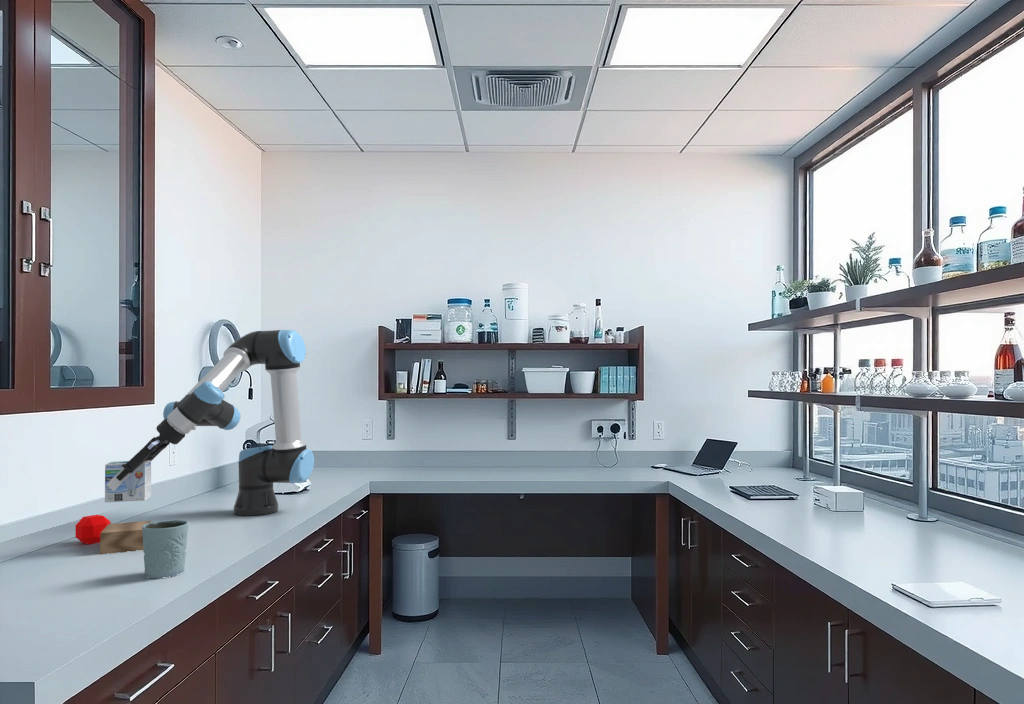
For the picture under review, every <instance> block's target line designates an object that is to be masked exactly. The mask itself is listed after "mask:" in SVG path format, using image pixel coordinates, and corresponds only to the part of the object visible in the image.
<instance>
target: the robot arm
mask: <svg viewBox="0 0 1024 704" xmlns="http://www.w3.org/2000/svg"><path fill="white" fill-rule="evenodd" d="M306 355H307V349H306V343H305V341H304V338H303V337H302V336H301V334H300V333H299V332H297V331H296V330H292V329H276V330H275V329H274V330H255V331H251V332H249V333H247V334H244V336H243V335H242V336H241V337H240V338H238V339H236V340H235V341H234V342H233V343H231V344H230V345H229V346H228V347H227V348H226V349H225V350H224V352H223V356H222V357H221V359H219V360H218V362H217V363H216V364H215V365H214V366H213V367H212V368H211V369H210V370H209V371H208V372H207V373H206V374H204V376H203V377H202V378H201V379H200V380H199V381H198V382H197V383H196V384H195V385H194V386H193V387H192V388H191V389H190V390H189V391H188V392H187V394H185V395H184V397H183V398H182V399H181V400H176V401H171V402H168V403H166V405H165V407H164V408H163V412H162V415H163V420H162V421H161V422H160V423H159V424H157V426H156V428H155V429H156V431H157V432H158V434H159V435H157V436H156V437H155V436H154V437H152V438H151V439H150V440H148V442H147V443H146V445H144V446H143V447H142V448H141V449H139V451H138V452H137V453H136V454H135V455H134V456H133V457H131V458H130V460H127V461H128V462H127V463H126V464H125V465H124V464H123V465H122V467H124V468H123V469H121V470H120V471H119V472H118V473H117V474H116V475H115V476H114V477H113V478H112V479H111V480H110V481H109V482H108V483H107V484H106V485H107V486H108V487H109V488H110V489H112V490H113V491H115V490H116V489H117V488H118V487H119V486H120V485H121V484H122V483H123V482H124V481H125V480H126V479H127V478H128V477H129V476H130V475H131V474H132V472H133V471H134V470H135V469H136V468H137V467H139V466H140V465H141V464H142V463H143V462H144V461H145V460H151V462H152V461H153V460H155V458H156V457H157V456H158V455H159V454H160V453H162V451H163V450H165V449H166V448H167V447H168V446H169V445H170V444H172V445H178V444H179V443H180V442H181V441H182V440H183V439H185V437H186V435H187V434H189V433H190V432H191V431H196V427H218V428H219V429H221V430H224V431H230V430H233V429H235V428H236V427H237V426H238V425H239V423H240V420H241V418H242V417H241V411H240V410H239V409H238V408H237V407H235V406H234V405H233V404H232V403H229V402H228V401H226V400H225V394H224V391H225V390H226V388H228V386H230V385H231V383H232V382H233V381H234V380H235V379H236V377H238V376H239V374H240V373H242V372H245V371H247V370H248V369H249V368H251V367H252V366H254V365H255V366H256V365H264V369H265V371H266V372H267V373H268V374H270V375H269V376H270V385H271V397H272V409H273V422H274V423H273V424H274V436H275V443H273V445H272V444H271V445H266V446H264V445H263V446H258V447H253V448H252V447H251V448H245V449H241V450H240V452H239V455H238V461H237V463H238V493H237V496H236V499H235V502H234V504H233V514H234V515H235V514H237V515H236V516H260V515H261V516H263V515H267V514H272V513H273V514H274V513H277V512H278V511H279V502H278V500H277V496H276V494H275V490H274V483H275V484H277V483H279V484H280V483H281V484H283V483H284V484H303V483H304V482H306V481H308V479H309V478H310V477H311V475H312V473H313V470H314V466H315V456H314V455H315V454H314V453H313V451H312V450H311V449H309V448H308V449H307V442H306V441H304V440H303V439H302V432H301V418H300V405H299V394H298V381H297V371H298V370H299V369H300V368H301V364H302V363H303V362H304V361H305V359H306ZM129 465H130V466H131V467H130V466H129Z"/></svg>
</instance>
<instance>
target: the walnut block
mask: <svg viewBox="0 0 1024 704" xmlns="http://www.w3.org/2000/svg"><path fill="white" fill-rule="evenodd" d="M151 522H152V521H151V520H145V521H144V520H143V521H131V522H129V521H128V522H119V523H118V522H116V523H111V524H108V525H107V526H106V527H105V529H104V530H103V531H102V532H101V533H100V543H99V544H100V547H99V549H100V550H99V552H100V553H99V554H100V555H107V553H109V554H118V553H117V552H120V553H128V552H127V551H131V552H137V551H136V550H142V551H144V550H143V533H142V526H143V525H145V524H147V523H151Z"/></svg>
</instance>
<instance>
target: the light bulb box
mask: <svg viewBox="0 0 1024 704" xmlns="http://www.w3.org/2000/svg"><path fill="white" fill-rule="evenodd" d="M128 461H129V460H122V461H121V460H119V461H110V462H108V463H106V464H105V465H104V503H121V502H122V503H123V502H140V501H141V502H142V501H146V500H148V499H150V498H151V497H152V461H151V460H145V461H144V462H143V463H142V464H141V465H140V466H139V467H137V468H136V469H135V470H134V471H133V472H132V474H131V475H130V476H129V477H128V478H127V479H126V480H125V481H124V482H123V483H122V484H121V485H120V486H119V487H118V488H117V489H116V490H115V491H113V490H112V489H110V488H109V487H108V486H107V485H106V484H107V483H108V482H109V481H110V480H111V479H112V478H113V477H114V476H115V475H116V474H117V473H118V472H119V471H120V470H121V469H123V468H124V467H122V465H123V464H124V465H125V464H126V463H127V462H128ZM129 466H130V465H129ZM130 467H131V466H130Z"/></svg>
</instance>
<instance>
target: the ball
mask: <svg viewBox="0 0 1024 704" xmlns="http://www.w3.org/2000/svg"><path fill="white" fill-rule="evenodd" d="M108 524H112V522H111V521H110V520H109V519H108V518H107V517H106V516H104V515H101V514H93V515H86V516H82V517H81V519H80V520H79V521H78V522H77V523H76V524H75V532H74V533H75V535H74V536H75V538H76V539H77V540H78V541H80V542H81V543H82V544H84V545H85V544H86V545H95V544H100V533H101V532H102V531H103V530H104V529H105V527H106V526H107V525H108Z"/></svg>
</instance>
